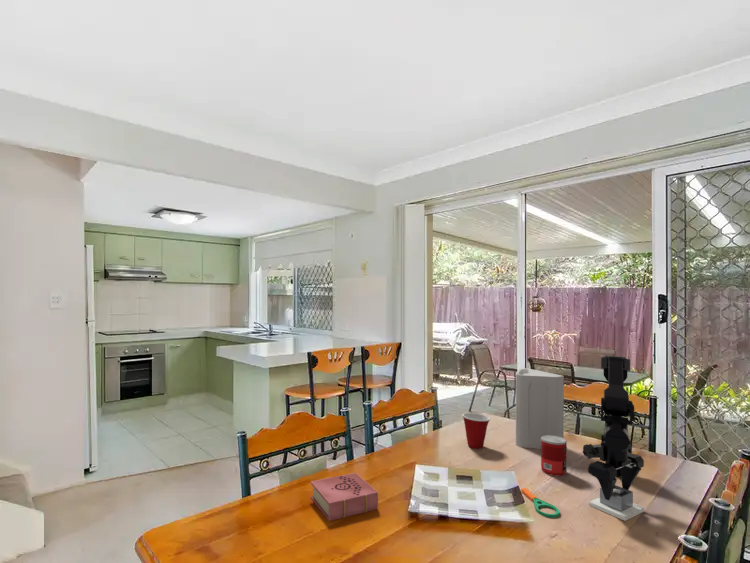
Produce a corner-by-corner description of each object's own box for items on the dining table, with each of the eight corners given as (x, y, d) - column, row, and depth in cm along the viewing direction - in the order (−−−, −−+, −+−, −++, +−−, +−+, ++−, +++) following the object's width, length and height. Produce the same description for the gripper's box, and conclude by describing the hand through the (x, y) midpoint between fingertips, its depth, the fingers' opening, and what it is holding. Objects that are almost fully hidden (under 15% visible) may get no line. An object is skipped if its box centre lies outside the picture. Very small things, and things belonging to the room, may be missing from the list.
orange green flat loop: (564, 518, 118) (564, 511, 118) (544, 520, 117) (544, 513, 117) (532, 492, 133) (532, 487, 133) (514, 494, 131) (514, 488, 131)
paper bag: (500, 438, 180) (501, 370, 181) (527, 433, 187) (527, 368, 188) (537, 454, 163) (537, 379, 164) (564, 448, 170) (564, 376, 171)
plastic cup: (496, 449, 168) (496, 417, 168) (472, 452, 164) (472, 420, 164) (479, 440, 178) (479, 410, 178) (456, 443, 174) (456, 413, 174)
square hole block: (611, 497, 127) (611, 483, 127) (632, 506, 122) (632, 491, 122) (599, 502, 124) (599, 488, 124) (621, 511, 119) (621, 496, 119)
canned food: (568, 477, 143) (568, 443, 143) (543, 475, 145) (543, 441, 145) (563, 468, 150) (563, 436, 151) (539, 466, 152) (539, 434, 152)
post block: (608, 496, 130) (608, 479, 130) (644, 511, 121) (644, 492, 121) (589, 505, 124) (589, 487, 124) (625, 521, 116) (625, 501, 116)
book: (330, 523, 114) (330, 504, 114) (310, 498, 127) (311, 481, 127) (378, 511, 120) (379, 493, 120) (355, 489, 134) (355, 472, 134)
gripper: (606, 426, 135) (606, 477, 135) (570, 437, 125) (570, 492, 125) (644, 437, 126) (644, 492, 125) (608, 449, 116) (608, 508, 115)
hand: (616, 495), depth 123 cm, fingers open, 9 cm apart
